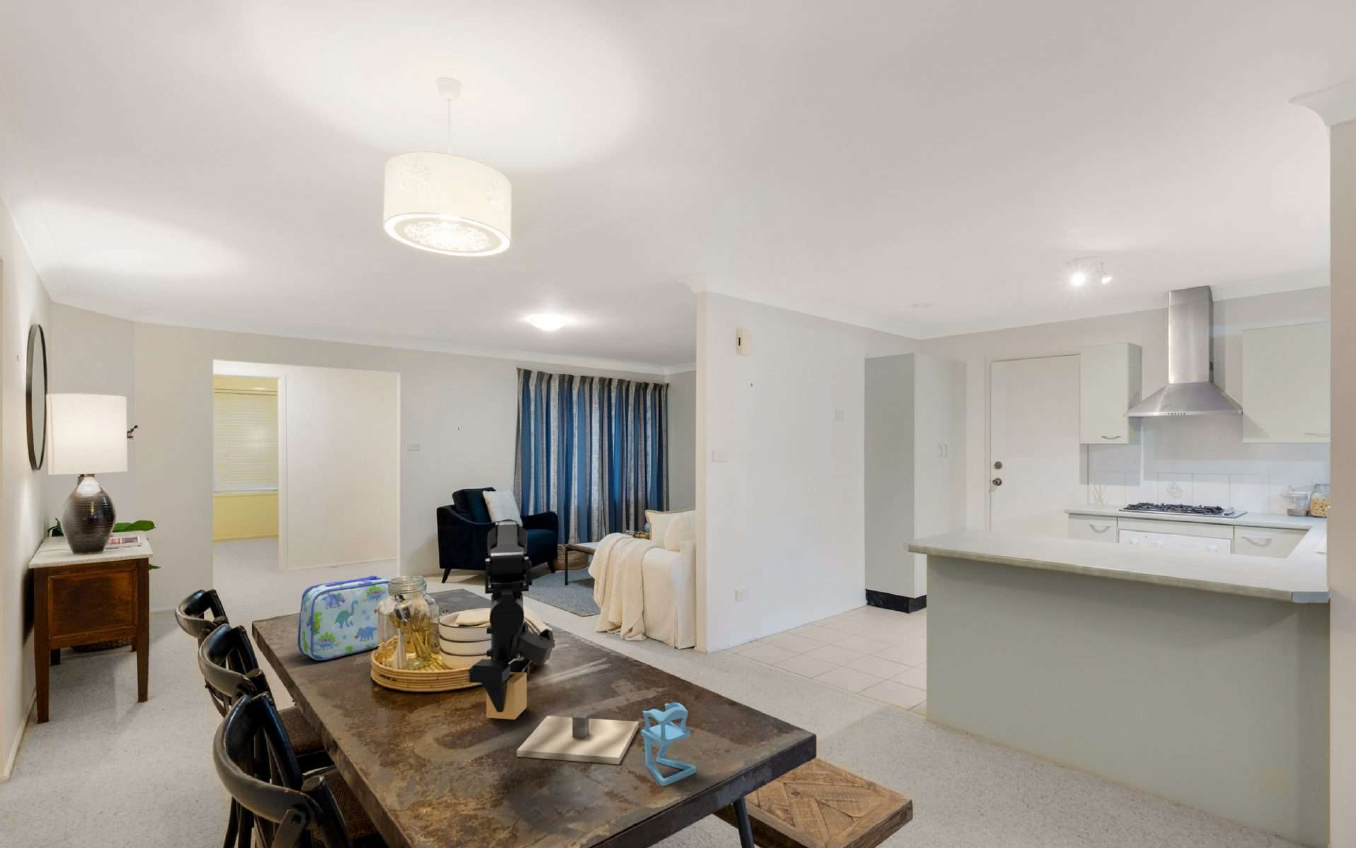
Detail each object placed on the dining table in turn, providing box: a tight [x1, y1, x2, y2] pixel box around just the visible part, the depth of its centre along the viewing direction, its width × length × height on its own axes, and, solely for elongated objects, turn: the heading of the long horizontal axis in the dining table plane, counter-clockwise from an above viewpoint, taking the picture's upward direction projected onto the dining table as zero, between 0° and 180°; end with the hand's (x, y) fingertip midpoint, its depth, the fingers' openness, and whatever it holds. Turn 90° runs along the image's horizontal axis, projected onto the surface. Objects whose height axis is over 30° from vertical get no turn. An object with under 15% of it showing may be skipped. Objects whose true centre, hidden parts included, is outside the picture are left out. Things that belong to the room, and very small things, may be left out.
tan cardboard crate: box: [485, 672, 528, 720], centre depth 120 cm, size 5×5×6 cm
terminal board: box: [516, 711, 639, 765], centre depth 130 cm, size 20×16×5 cm
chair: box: [640, 702, 697, 787], centre depth 118 cm, size 8×8×12 cm
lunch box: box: [297, 575, 392, 661], centre depth 190 cm, size 26×11×21 cm, turn 141°
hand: (506, 705), depth 120 cm, fingers closed on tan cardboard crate, 5 cm apart
